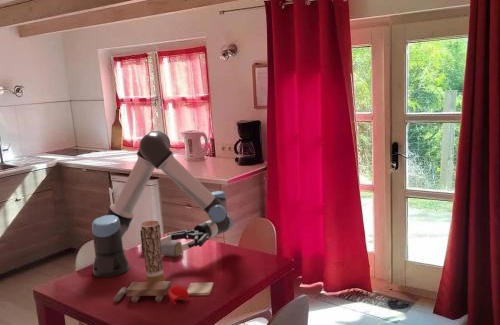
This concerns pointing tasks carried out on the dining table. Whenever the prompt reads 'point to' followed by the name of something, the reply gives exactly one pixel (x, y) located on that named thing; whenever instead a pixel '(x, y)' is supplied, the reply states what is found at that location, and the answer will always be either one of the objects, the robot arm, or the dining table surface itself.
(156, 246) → the bark-patterned canister
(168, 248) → the ceramic mug
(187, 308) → the dining table surface
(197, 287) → the coaster
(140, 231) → the small box
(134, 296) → the brown toy skateboard
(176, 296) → the red rounded piece
